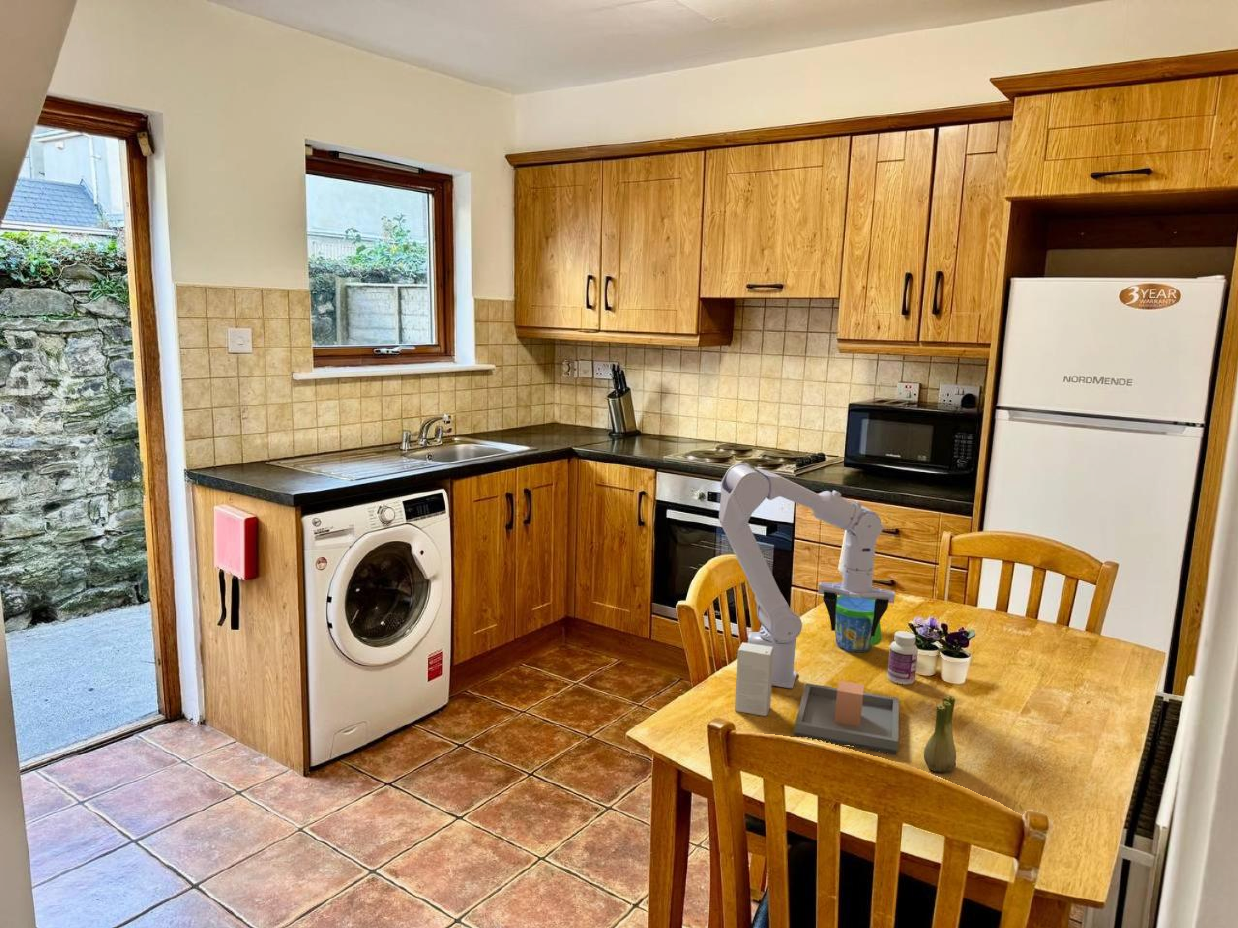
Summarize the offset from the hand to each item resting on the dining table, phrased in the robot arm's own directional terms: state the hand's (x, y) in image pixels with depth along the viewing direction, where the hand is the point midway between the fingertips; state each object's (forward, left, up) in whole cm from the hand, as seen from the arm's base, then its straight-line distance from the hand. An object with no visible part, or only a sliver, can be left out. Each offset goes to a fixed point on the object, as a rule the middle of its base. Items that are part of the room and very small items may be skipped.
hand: (852, 631), depth 172 cm
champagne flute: (-2, +31, -10) cm, 33 cm away
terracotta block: (+1, -21, -9) cm, 23 cm away
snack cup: (0, +16, -10) cm, 19 cm away
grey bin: (+1, -21, -9) cm, 23 cm away
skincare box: (-16, -22, -10) cm, 29 cm away
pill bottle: (+10, +2, -10) cm, 14 cm away
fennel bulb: (+16, -31, -10) cm, 36 cm away
